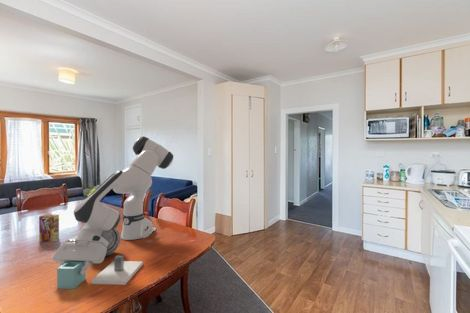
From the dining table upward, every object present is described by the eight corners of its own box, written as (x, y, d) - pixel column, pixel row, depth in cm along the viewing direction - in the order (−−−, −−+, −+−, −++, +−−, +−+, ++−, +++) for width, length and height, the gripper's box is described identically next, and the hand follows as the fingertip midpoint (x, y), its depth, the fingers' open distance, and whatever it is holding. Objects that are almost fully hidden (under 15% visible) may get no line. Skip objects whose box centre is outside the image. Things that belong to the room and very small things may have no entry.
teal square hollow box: (70, 278, 94) (70, 260, 94) (85, 279, 94) (85, 260, 93) (57, 288, 87) (57, 268, 87) (73, 288, 87) (73, 268, 87)
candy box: (59, 239, 136) (59, 214, 135) (53, 242, 131) (53, 216, 131) (45, 239, 136) (44, 214, 135) (38, 241, 131) (38, 216, 131)
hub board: (113, 263, 106) (113, 260, 106) (142, 264, 106) (142, 261, 106) (91, 283, 90) (91, 280, 90) (125, 284, 90) (125, 281, 90)
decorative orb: (83, 264, 106) (83, 233, 105) (89, 251, 119) (89, 224, 118) (119, 258, 111) (118, 229, 111) (121, 247, 125) (120, 220, 124)
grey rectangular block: (117, 268, 99) (116, 255, 99) (123, 268, 99) (123, 255, 99) (114, 271, 97) (114, 257, 97) (121, 271, 97) (121, 257, 97)
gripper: (60, 236, 97) (40, 270, 88) (106, 237, 97) (91, 272, 87) (68, 242, 102) (50, 275, 92) (112, 243, 101) (98, 276, 92)
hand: (70, 273), depth 90 cm, fingers closed on teal square hollow box, 7 cm apart
